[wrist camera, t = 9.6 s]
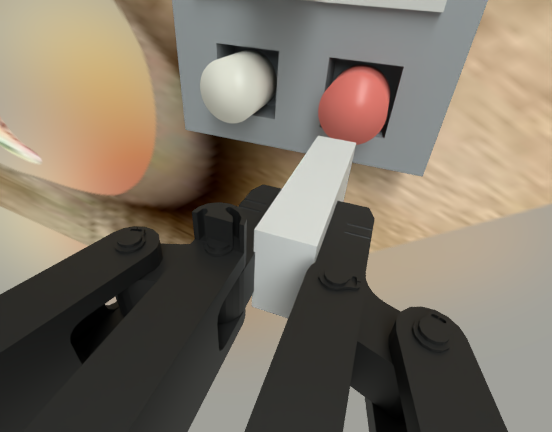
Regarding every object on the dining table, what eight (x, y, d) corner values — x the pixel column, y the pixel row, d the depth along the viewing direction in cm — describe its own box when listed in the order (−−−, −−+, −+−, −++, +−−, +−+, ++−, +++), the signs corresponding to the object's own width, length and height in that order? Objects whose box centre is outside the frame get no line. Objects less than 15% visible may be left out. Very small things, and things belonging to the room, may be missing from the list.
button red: (326, 120, 24) (314, 138, 21) (335, 60, 21) (323, 71, 18) (381, 129, 23) (377, 150, 20) (397, 68, 20) (396, 81, 17)
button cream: (227, 103, 25) (202, 118, 22) (226, 46, 23) (197, 54, 20) (275, 111, 25) (255, 128, 21) (278, 53, 22) (257, 62, 19)
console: (213, 112, 31) (181, 131, 27) (200, -147, 21) (146, -184, 17) (420, 150, 27) (422, 180, 22) (525, -154, 17) (567, -207, 12)
